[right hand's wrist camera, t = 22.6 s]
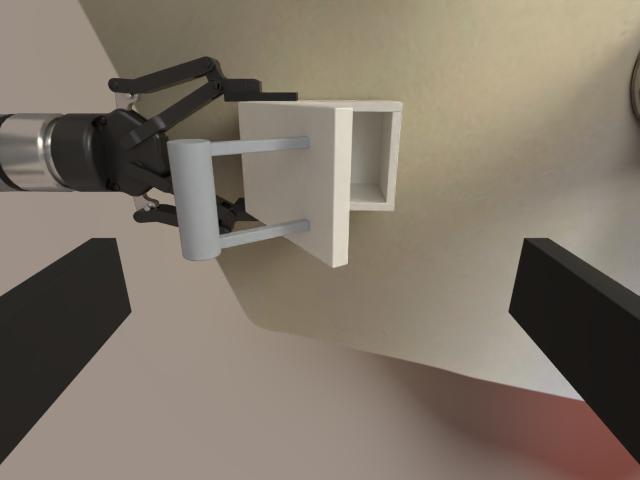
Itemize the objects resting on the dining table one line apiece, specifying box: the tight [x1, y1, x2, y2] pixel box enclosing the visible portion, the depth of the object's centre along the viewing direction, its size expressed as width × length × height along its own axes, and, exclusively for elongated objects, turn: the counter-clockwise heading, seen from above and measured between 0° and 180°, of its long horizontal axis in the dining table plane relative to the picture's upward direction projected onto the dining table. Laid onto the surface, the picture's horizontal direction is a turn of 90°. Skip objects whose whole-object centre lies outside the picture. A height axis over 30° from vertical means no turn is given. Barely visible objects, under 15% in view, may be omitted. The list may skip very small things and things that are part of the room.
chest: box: [247, 100, 402, 211], centre depth 38 cm, size 14×10×9 cm
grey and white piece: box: [167, 102, 353, 268], centre depth 26 cm, size 14×10×10 cm
